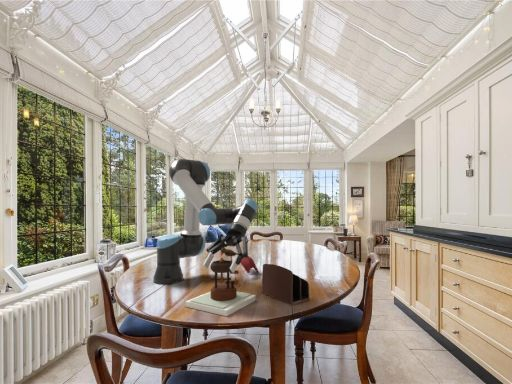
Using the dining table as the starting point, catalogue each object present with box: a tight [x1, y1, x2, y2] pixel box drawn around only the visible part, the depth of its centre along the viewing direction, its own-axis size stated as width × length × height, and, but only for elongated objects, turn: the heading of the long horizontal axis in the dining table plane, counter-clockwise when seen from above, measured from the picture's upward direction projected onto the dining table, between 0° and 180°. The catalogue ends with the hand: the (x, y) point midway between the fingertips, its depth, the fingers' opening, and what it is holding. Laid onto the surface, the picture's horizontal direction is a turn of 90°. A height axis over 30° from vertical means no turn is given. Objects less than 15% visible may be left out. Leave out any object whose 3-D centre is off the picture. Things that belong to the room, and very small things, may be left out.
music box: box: [202, 247, 239, 301], centre depth 119 cm, size 15×11×20 cm
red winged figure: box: [238, 255, 260, 274], centre depth 171 cm, size 28×9×15 cm
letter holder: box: [261, 263, 310, 306], centre depth 127 cm, size 10×20×14 cm, turn 35°
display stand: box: [184, 291, 257, 317], centre depth 119 cm, size 20×20×2 cm
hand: (217, 268), depth 118 cm, fingers open, 13 cm apart
